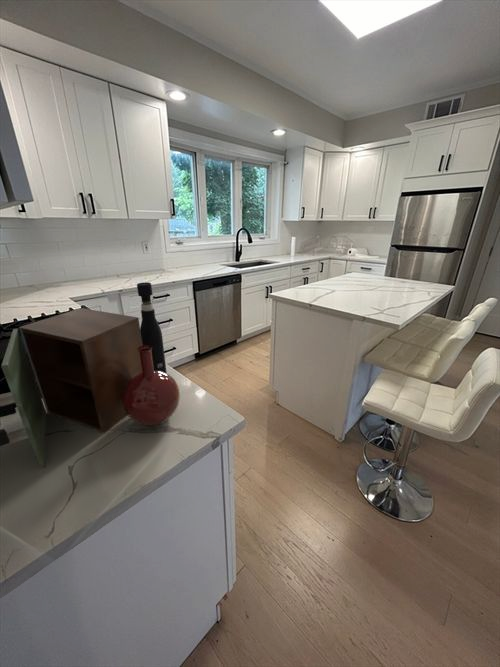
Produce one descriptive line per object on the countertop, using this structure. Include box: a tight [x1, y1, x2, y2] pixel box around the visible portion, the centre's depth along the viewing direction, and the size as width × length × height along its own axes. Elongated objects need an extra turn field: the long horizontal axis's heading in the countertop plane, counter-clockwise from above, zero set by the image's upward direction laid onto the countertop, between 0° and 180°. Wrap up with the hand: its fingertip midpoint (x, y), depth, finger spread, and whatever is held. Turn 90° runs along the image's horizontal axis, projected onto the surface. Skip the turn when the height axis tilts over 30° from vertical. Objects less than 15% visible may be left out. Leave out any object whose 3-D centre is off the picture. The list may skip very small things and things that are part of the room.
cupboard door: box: [0, 328, 47, 469], centre depth 58 cm, size 7×20×24 cm, turn 34°
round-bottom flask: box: [123, 345, 181, 427], centre depth 66 cm, size 13×13×20 cm
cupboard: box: [18, 307, 143, 434], centre depth 71 cm, size 16×20×24 cm
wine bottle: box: [136, 282, 168, 374], centre depth 84 cm, size 6×6×30 cm
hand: (10, 420), depth 52 cm, fingers open, 9 cm apart
